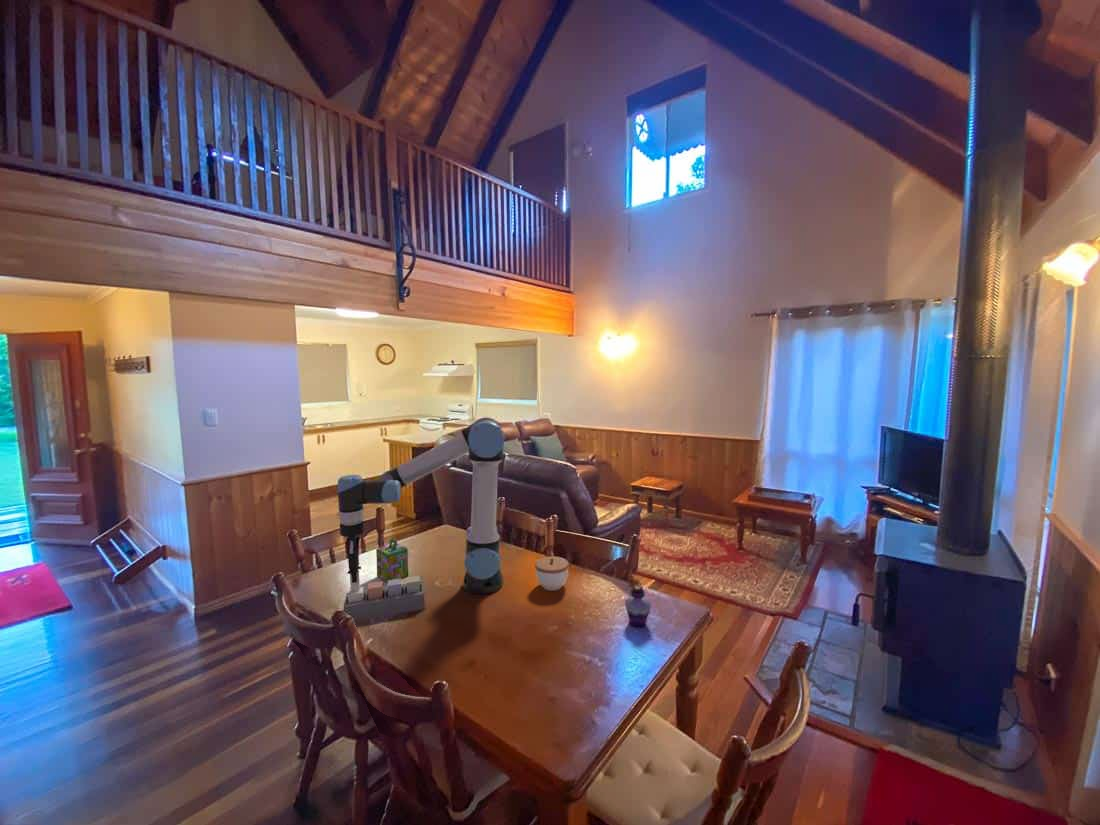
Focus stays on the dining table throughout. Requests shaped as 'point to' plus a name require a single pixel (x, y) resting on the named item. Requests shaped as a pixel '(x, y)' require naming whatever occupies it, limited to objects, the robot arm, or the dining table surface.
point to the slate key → (394, 587)
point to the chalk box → (392, 561)
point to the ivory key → (356, 595)
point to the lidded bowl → (552, 572)
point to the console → (385, 604)
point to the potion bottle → (637, 607)
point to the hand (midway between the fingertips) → (355, 589)
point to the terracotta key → (375, 590)
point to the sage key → (413, 584)
